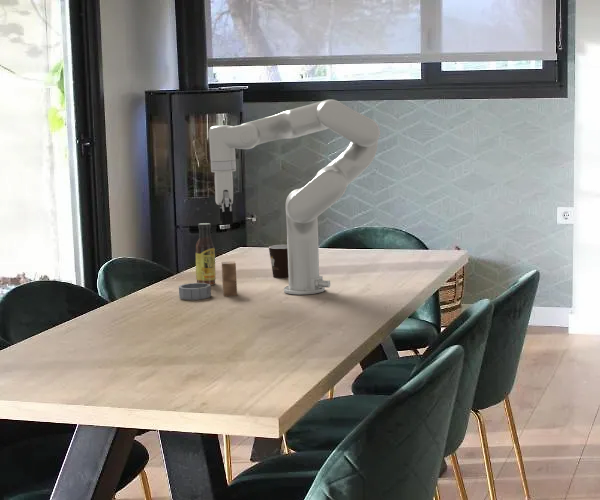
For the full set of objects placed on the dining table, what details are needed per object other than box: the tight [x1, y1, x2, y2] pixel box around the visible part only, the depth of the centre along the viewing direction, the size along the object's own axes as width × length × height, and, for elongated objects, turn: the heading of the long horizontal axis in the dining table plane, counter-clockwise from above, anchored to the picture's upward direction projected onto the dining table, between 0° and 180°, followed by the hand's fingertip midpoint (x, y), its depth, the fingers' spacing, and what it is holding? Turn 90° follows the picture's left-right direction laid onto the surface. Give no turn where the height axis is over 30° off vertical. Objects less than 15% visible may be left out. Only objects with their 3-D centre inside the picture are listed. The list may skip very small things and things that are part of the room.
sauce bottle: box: [195, 222, 216, 286], centre depth 360 cm, size 6×6×20 cm
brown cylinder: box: [221, 260, 238, 297], centre depth 342 cm, size 4×4×10 cm
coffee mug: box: [268, 244, 289, 279], centre depth 372 cm, size 12×9×10 cm
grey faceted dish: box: [178, 282, 212, 301], centre depth 341 cm, size 10×10×3 cm
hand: (226, 222), depth 340 cm, fingers open, 9 cm apart
